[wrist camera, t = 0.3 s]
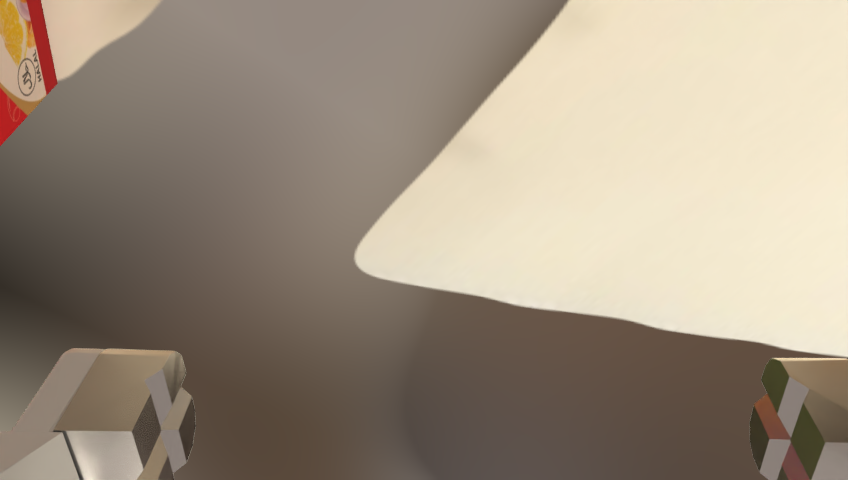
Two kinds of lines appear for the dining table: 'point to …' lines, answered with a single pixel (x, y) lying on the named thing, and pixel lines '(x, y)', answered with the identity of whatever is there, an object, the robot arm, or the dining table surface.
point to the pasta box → (23, 62)
